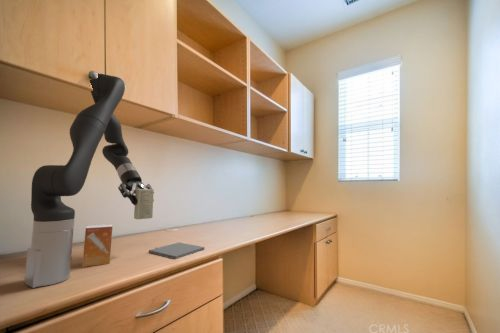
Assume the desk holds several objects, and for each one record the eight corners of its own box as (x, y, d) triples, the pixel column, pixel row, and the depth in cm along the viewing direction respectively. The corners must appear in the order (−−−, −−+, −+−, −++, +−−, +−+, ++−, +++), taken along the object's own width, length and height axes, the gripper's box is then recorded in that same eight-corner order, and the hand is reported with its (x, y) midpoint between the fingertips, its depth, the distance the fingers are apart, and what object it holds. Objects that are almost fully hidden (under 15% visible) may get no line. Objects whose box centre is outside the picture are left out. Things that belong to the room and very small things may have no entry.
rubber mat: (175, 259, 87) (175, 256, 87) (148, 252, 95) (148, 250, 95) (204, 249, 100) (204, 247, 101) (178, 244, 109) (178, 242, 109)
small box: (82, 267, 77) (85, 227, 78) (83, 262, 82) (85, 225, 83) (110, 263, 81) (112, 226, 82) (109, 258, 86) (112, 223, 87)
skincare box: (148, 217, 99) (150, 189, 100) (152, 218, 96) (154, 189, 97) (133, 218, 95) (135, 188, 96) (136, 219, 91) (138, 189, 93)
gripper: (116, 168, 95) (132, 197, 88) (147, 170, 108) (163, 196, 101) (108, 180, 97) (123, 210, 91) (139, 181, 110) (154, 208, 103)
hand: (144, 203), depth 96 cm, fingers closed on skincare box, 7 cm apart
